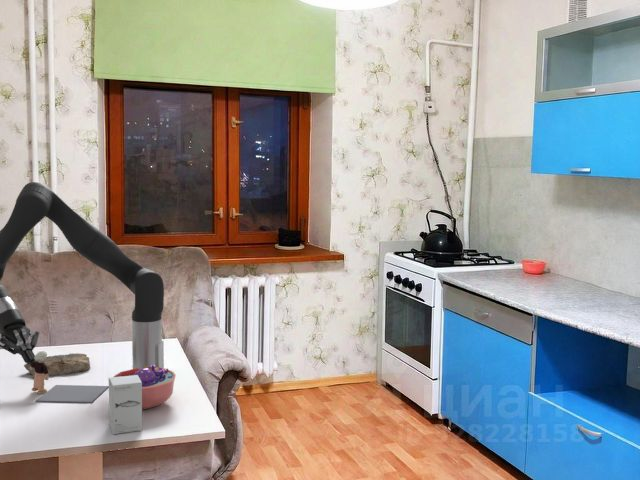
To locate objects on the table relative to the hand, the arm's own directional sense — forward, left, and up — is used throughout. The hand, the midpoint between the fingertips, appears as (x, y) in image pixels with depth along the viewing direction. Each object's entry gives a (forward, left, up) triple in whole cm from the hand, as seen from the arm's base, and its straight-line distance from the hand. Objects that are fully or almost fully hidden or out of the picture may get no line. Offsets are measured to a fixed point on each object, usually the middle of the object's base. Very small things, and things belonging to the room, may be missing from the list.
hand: (31, 362), depth 195 cm
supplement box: (-35, +26, -9) cm, 45 cm away
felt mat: (-12, +1, -9) cm, 15 cm away
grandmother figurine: (-1, 0, -8) cm, 9 cm away
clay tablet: (+2, -23, -9) cm, 24 cm away
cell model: (-35, +9, -9) cm, 38 cm away
